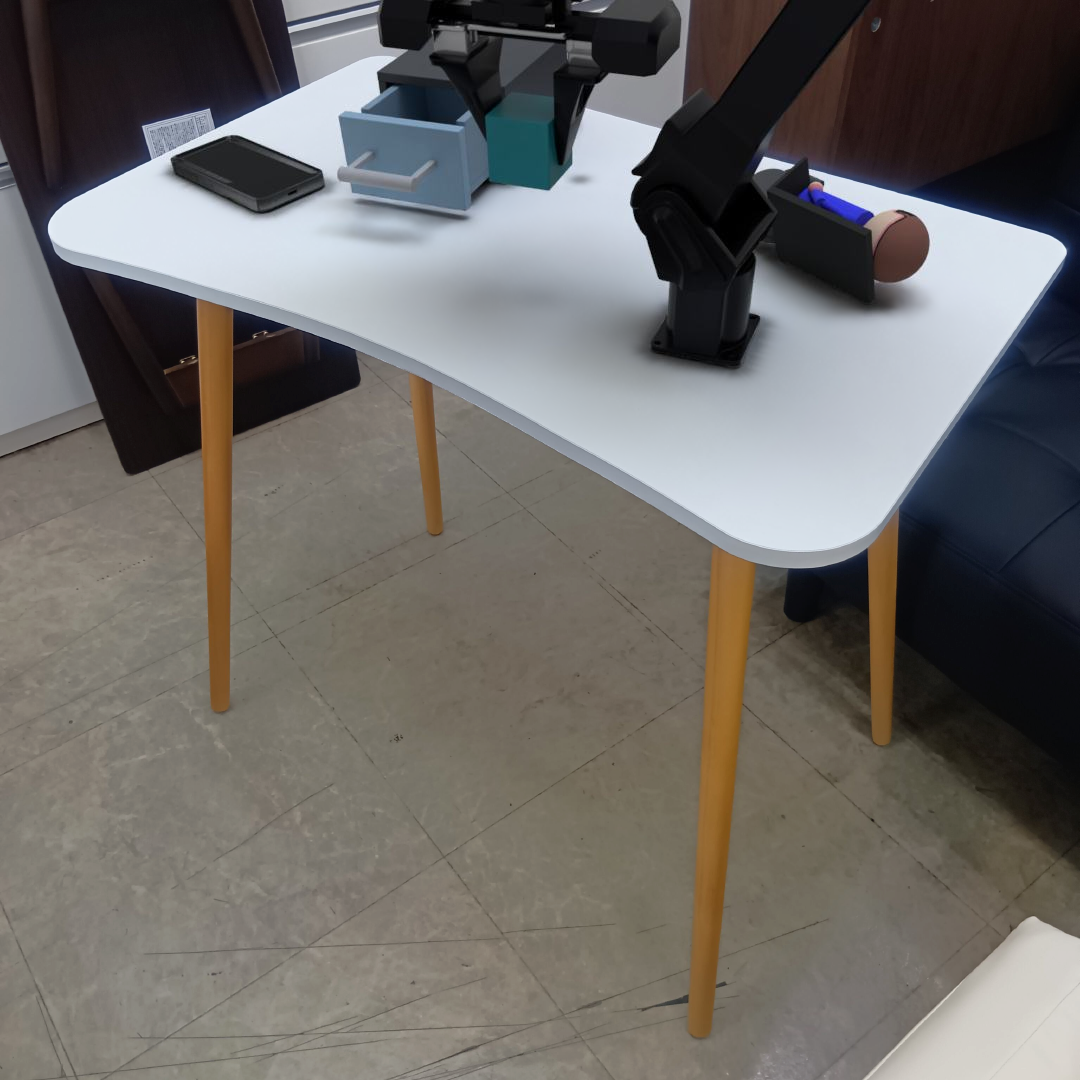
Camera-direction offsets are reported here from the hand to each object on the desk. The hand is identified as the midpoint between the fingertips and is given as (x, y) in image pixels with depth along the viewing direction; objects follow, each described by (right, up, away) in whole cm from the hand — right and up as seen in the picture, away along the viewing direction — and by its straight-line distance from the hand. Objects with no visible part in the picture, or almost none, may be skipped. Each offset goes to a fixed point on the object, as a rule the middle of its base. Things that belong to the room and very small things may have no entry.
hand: (531, 158), depth 67 cm
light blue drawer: (-9, +6, +21) cm, 24 cm away
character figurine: (+23, -6, +9) cm, 25 cm away
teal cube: (0, -1, +1) cm, 1 cm away
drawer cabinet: (-5, +13, +28) cm, 31 cm away
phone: (-27, +8, +25) cm, 38 cm away
